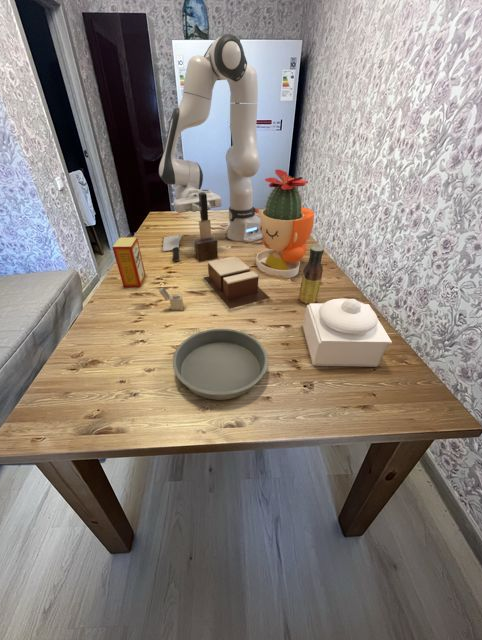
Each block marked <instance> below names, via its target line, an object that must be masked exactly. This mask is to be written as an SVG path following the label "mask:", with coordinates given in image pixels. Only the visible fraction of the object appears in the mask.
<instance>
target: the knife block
mask: <svg viewBox="0 0 482 640" xmlns="http://www.w3.org/2000/svg"><path fill="white" fill-rule="evenodd" d="M193 245H194V256H195V259H196V260H197V261H198V262H199V263H200V262H205V261H210V260H216V259H218V258H219V255H218V254H219V253H218V240H217V239H216V238H215V237H214V236H211V240H206V241H201V240H200V238H198V239H197V238H196V239H194V240H193Z"/></svg>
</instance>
